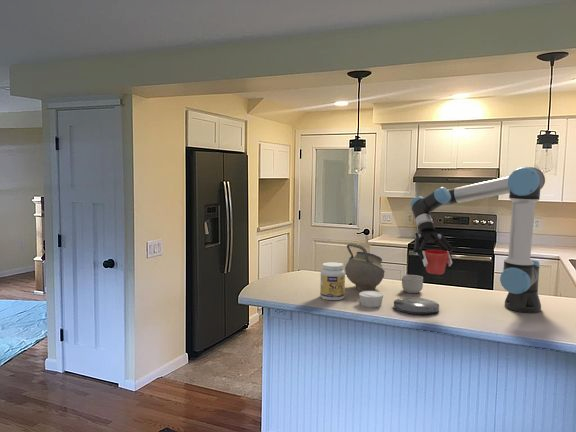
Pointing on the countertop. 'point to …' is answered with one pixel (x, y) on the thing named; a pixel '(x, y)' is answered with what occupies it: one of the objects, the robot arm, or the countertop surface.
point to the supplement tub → (332, 281)
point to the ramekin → (371, 298)
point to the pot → (364, 269)
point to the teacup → (412, 283)
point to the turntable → (416, 305)
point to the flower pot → (436, 261)
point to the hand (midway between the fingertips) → (438, 264)
